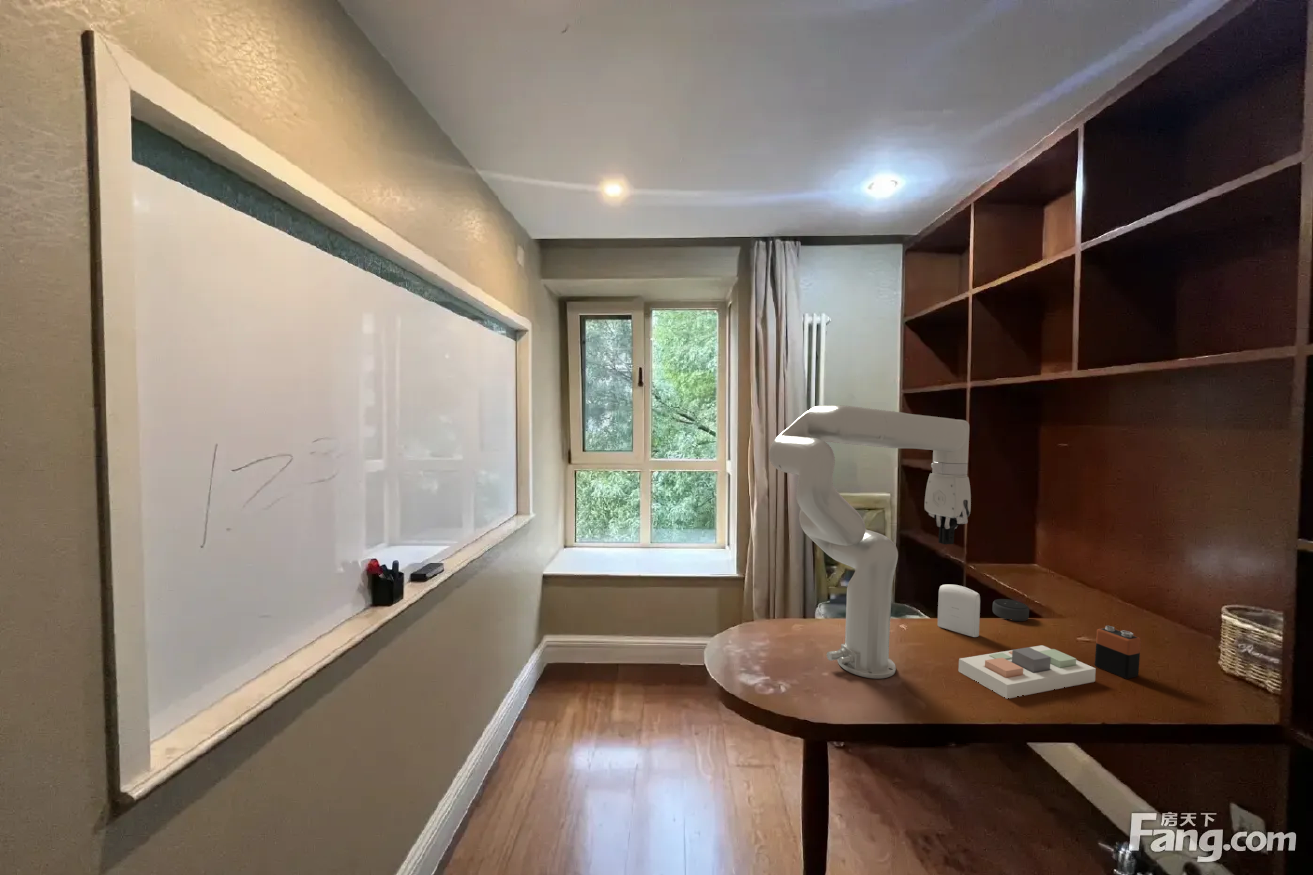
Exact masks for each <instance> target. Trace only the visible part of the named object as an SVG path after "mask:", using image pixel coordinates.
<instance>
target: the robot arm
mask: <svg viewBox="0 0 1313 875" xmlns="http://www.w3.org/2000/svg"><path fill="white" fill-rule="evenodd" d="M969 441H970V423H969V422H968V421H967V420H965V419H955V418H949V417H942V416H941V417H940V416H939V417H938V416H933V415H932V416H931V415H922V414H915V413H913V414H912V413H906V412H901V411H894V410H886V409H885V410H884V409H876V408H870V407H869V408H868V407H860V406H853V405H838V404H836V405H834V404H833V405H828V404H827V405H826V404H825V405H824V404H823V405H822V404H819V405H816V406H815V405H814V406H813V407H811V408H810V409H809V410H807V411H805V412H804V413H803V414H802V415H801V416H799V417H798V418H797V419H796V420H794V421H793V422H792V423H791V424H790V425H789V426H788V427H787V428H786V429H784V430H783V431H782V432H781V433H779V435H777V436H776V437H775V439H774V440H773V441H772V443H771V444H770V447H769V450H768V458H769V462H770V464H771V465H772V466H773V468H775V469H776V470H778V471H780V472H783V473H786V474H792V475H797V476H798V478H797V485H796V502H797V505H798V507H799V508H800V510H799V514H798V519H799V524H800V528H801V529H802V531H803V532H804V534H805V535H806V536H807V537H808V538H809V539H810V540H811V541H812V542H814V543H815V545H816V546H817V547H819V549H821V550H822V551H823V552H824V553H825V554H826V555H827V556H828V557H830V558H832V559H833V560H835V561H836V562H838V563H841V564H843V565H845V566H848V567H850V568H852V569H854V573H853V575H852V577H851V578H850V580H849V581H848V584H847V588H846V606H845V607H846V609H845V630H844V631H845V632H844V633H845V636H844V638H845V639H844V643H840V648H839V649H837V650H831V651H827V653H826V658H827V660H828V661H832V662H833V661H837V664H838V665H839V666H840V667H841V668H842V669H843V670H845V671H847V672H848V673H850V674H853V675H856V676H859V677H863V678H868V679H885V678H889V677H892V676H893V675H895V673H896V669H897V668H896V664H895V662H894V661H893V660H892V659H891V658H889V654H890V633H891V632H890V631H891V610H892V609H891V608H892V602H891V601H892V589H893V580H894V575H895V570H896V567H897V563H898V558H899V551H898V548H897V546H896V544H895V543H894V542H893V540H891V539H890V538H889V537H888V536H886V535H884V534H882V533H879V532H877V531H873V530H870V529H867V528H866V522H865V521H864V519H863V518H862V515H861V514H860V513H859V512H858V511H857V509H856V508H854V506H852V505H851V504H850V503H849V501H847V500H846V499H845V498H844V497H843V496H842V495H841V494H840V493H839V492H838V490H837V488H835V486H834V483H833V482H834V481H833V475H834V469H835V462H836V460H835V458H836V457H835V453H834V450H833V448H832V447H831V445H830V444H829V443H835V444H841V445H853V446H863V447H864V446H865V447H873V448H887V449H915V450H916V449H917V450H928V451H929V450H931V451H933V452H932V463H931V464H930V467H931V468H932V470H931V472H932V473H931V472H930V473H929V476H928V479H927V482H926V488H925V494H924V495H925V496H924V511H926V512H927V513H928V516H930V517H932V518H933V519H934V520H935V521H936V526H937V527H938V544H942V545H944V546H945V545H953V544H954V543H955V532H956V531H955V529H957V528H958V526H959V525H964V524H968V522H969V521H968V518H969V517H970V514H971V506H972V505H971V504H972V503H971V502H972V499H971V498H972V494H971V485H970V484H971V483H970V478H969V476H968V463H969V446H970V445H969V444H970V442H969Z"/></svg>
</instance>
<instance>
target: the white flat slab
mask: <svg viewBox="0 0 1313 875" xmlns="http://www.w3.org/2000/svg"><path fill="white" fill-rule="evenodd" d="M1029 647H1030V648H1032V649H1034V650H1036V651H1044V650H1050V649H1051V648H1050V647H1048V646H1046V645H1036V646H1029ZM1012 650H1013V649H1011V650H1005V651H1004V650H1003V651H999V652H998V651H997V652H993V653H991V652H990V653H986V654H979V655H974V656H968V657H967V656H966V657H959V659H958V672H959V673H961V674H962V675H964V676H965V677H968V678H970V679H971V680H973V681H974V680H975V681H974V682H976V681H977V682H976V683H978V682H979V683H978V684H979V685H981V686H982V687H983V686H984V687H986V688H987V689H989V690H990V691H992V690H993V691H992V692H995V693H996V694H997V695H999V696H1001V697H1003V698H1004V697H1005V698H1004V699H1008V698H1009V699H1014V698H1018V697H1017V696H1019V697H1023V696H1022V695H1024V696H1028V695H1033V694H1037V693H1045V692H1049V691H1053V690H1054V689H1055V690H1059V689H1064V687H1065V688H1069V687H1073V686H1074V687H1075V686H1080V685H1084V684H1090V683H1094V682H1096V671H1097V670H1096V669H1097V668H1096V667H1093V666H1092V665H1091V666H1090V665H1088V664H1087V663H1084V662H1082V661H1079V660H1077V659H1076V666H1071V667H1065V668H1058V667H1056V666H1054V665H1052V664H1050V670H1049V671H1043V672H1038V673H1032V672H1030V671H1028V670H1026V669H1024V668H1023V675H1021V676H1016V677H1010V678H1004V677H1002V676H1001V675H999V674H997V673H995V672H993V671H991V670H989V669H987V668H985V660H990V659H997V658H1004V659H1006V660H1008V661H1010V662H1012Z"/></svg>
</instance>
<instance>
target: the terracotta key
mask: <svg viewBox="0 0 1313 875" xmlns="http://www.w3.org/2000/svg"><path fill="white" fill-rule="evenodd" d="M985 668H987V669H989V670H991V671H993V672H995V673H997V674H999V675H1001V676H1002V677H1004V678H1010V677H1016V676H1021V675H1023V668H1022V667H1020V666H1018V665H1016V664H1014V663H1012V662H1010V661H1008V660H1006V659H1004V658H997V659H990V660H985Z"/></svg>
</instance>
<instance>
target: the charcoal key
mask: <svg viewBox="0 0 1313 875" xmlns="http://www.w3.org/2000/svg"><path fill="white" fill-rule="evenodd" d="M1030 647H1031V646H1029V647H1028V646H1027V647H1022V648H1021V647H1020V648H1017V649H1011V650H1012V663H1014V664H1016V665H1018V666H1020V667H1022V668H1024V669H1026V670H1028V671H1030V672H1032V673H1038V672H1043V671H1049V670H1050V661H1051V657H1050V656H1047V655H1045V654H1043V653H1041V652H1038V651H1036V650H1034V649H1032V648H1030Z"/></svg>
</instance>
